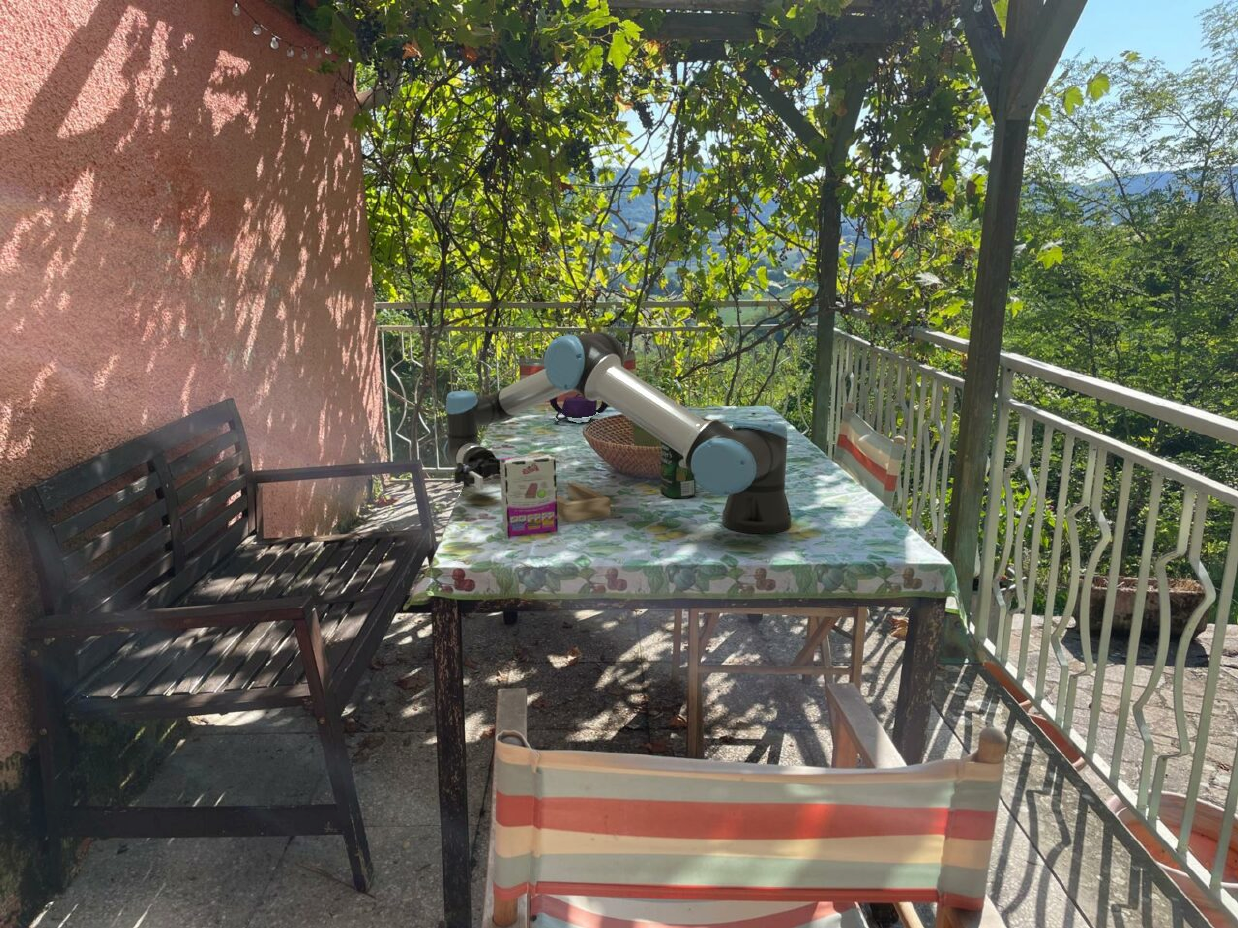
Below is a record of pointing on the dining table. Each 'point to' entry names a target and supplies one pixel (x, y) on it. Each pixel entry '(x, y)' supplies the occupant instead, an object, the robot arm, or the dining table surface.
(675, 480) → the coffee jar
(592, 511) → the frame
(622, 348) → the robot arm
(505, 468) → the candy bar box
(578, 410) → the purple handbag
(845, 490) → the dining table surface
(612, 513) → the mat
